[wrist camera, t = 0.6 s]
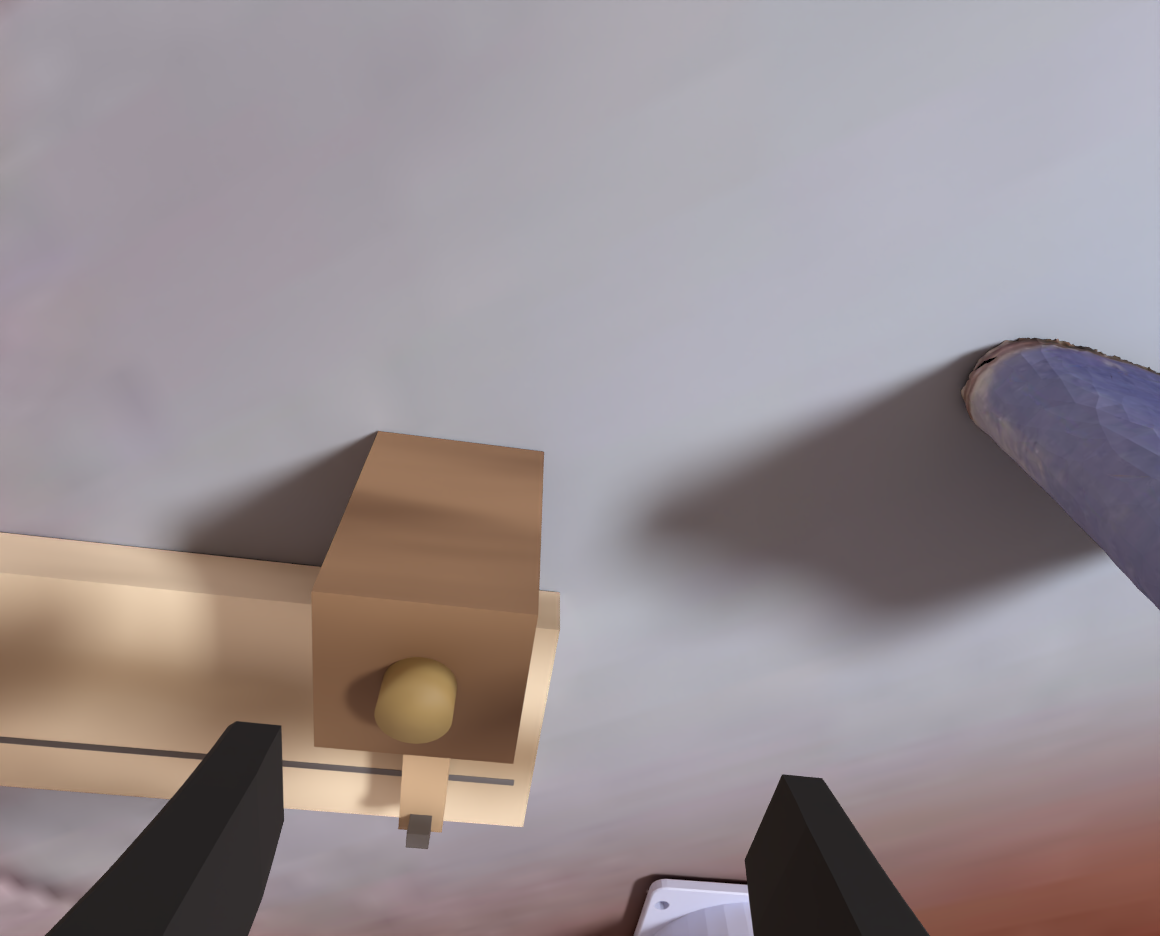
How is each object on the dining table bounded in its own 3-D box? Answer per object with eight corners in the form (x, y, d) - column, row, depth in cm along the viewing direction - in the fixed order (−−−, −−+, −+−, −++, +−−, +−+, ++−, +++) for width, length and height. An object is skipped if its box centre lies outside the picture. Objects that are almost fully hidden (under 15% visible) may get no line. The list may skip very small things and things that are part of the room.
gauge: (497, 755, 25) (478, 986, 19) (368, 743, 25) (308, 977, 19) (543, 451, 20) (536, 646, 14) (378, 431, 19) (297, 622, 13)
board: (524, 785, 26) (522, 827, 24) (-71, 735, 24) (-108, 777, 23) (559, 592, 22) (559, 630, 20) (-152, 516, 20) (-202, 552, 19)
